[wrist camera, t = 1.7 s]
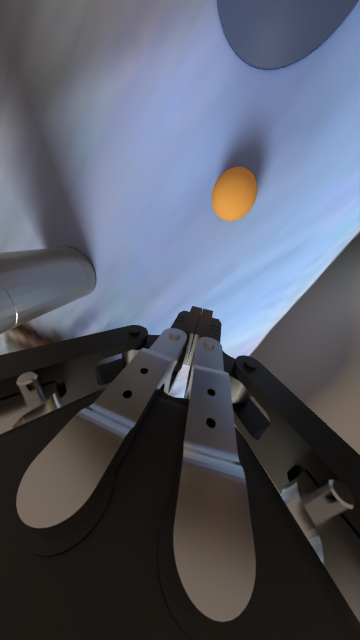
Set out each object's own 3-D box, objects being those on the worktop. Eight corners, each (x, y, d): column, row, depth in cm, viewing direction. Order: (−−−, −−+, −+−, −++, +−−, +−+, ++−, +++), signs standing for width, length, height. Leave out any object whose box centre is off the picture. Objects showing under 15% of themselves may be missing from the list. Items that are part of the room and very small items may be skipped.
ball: (218, 228, 23) (216, 227, 19) (208, 186, 22) (203, 175, 17) (257, 212, 22) (264, 207, 17) (249, 165, 20) (255, 147, 15)
